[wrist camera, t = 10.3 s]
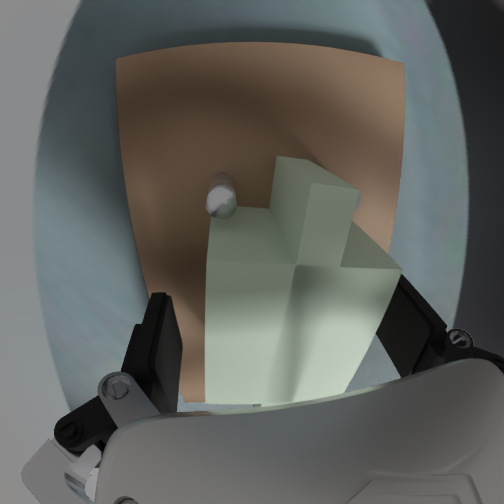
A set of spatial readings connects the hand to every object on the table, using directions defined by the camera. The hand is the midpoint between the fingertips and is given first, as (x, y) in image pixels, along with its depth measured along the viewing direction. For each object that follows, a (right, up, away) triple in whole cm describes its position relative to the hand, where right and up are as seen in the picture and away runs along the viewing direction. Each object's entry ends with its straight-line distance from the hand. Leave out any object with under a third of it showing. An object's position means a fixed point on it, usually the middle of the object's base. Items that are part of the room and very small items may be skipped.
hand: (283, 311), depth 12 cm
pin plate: (0, +2, +4) cm, 4 cm away
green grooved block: (0, +1, +2) cm, 3 cm away
